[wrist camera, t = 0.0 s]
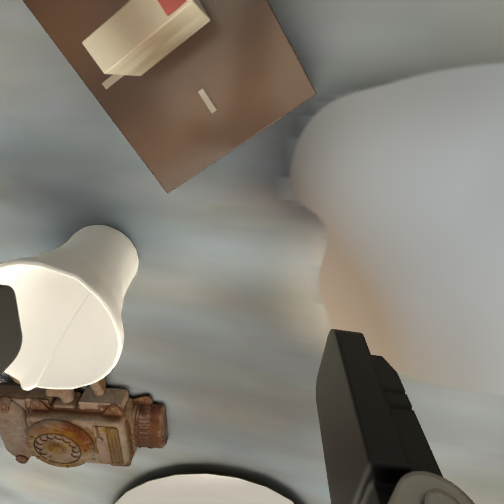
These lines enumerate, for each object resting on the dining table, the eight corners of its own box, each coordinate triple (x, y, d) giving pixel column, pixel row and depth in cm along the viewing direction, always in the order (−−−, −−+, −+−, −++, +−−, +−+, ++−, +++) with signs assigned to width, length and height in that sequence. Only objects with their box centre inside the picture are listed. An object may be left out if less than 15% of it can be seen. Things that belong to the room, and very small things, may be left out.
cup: (41, 279, 30) (-56, 362, 21) (73, 182, 27) (-28, 233, 18) (140, 323, 32) (88, 419, 23) (183, 237, 28) (142, 310, 19)
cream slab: (140, 76, 21) (101, 74, 16) (122, 51, 20) (78, 41, 16) (211, 20, 20) (192, 0, 15) (194, -8, 19) (169, -39, 14)
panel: (35, -13, 22) (0, -28, 19) (179, -154, 19) (164, -196, 16) (177, 182, 27) (166, 194, 24) (311, 92, 24) (317, 94, 21)
